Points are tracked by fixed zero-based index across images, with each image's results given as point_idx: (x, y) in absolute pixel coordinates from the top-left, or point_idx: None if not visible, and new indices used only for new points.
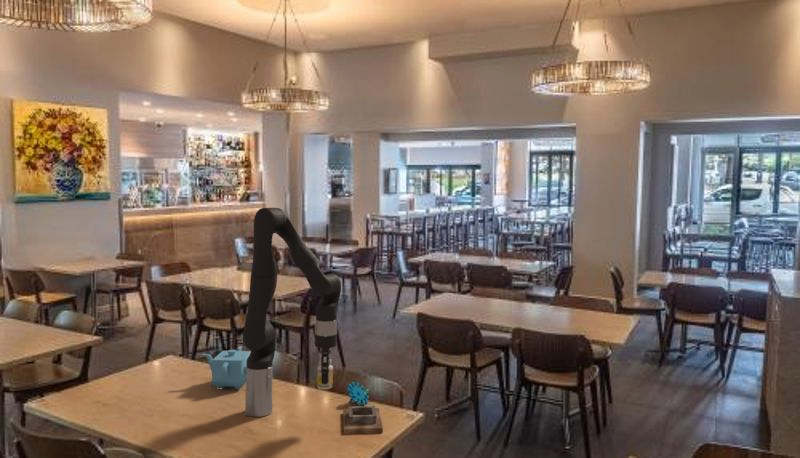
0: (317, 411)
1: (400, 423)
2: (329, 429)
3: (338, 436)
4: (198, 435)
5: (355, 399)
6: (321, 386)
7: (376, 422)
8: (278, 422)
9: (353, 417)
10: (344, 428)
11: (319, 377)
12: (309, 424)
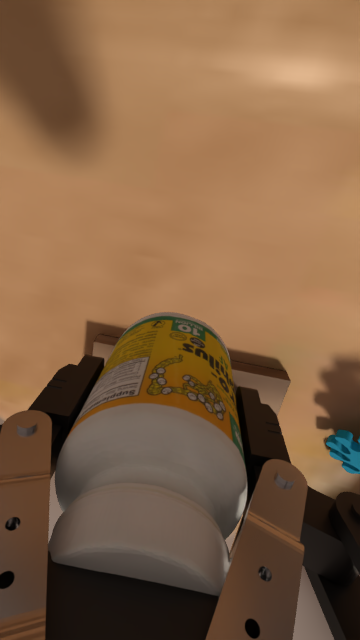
0: (351, 281)
1: None
2: (148, 293)
3: (80, 311)
4: None
5: (343, 443)
6: (118, 341)
7: None
8: (295, 66)
9: None
10: (99, 343)
11: (116, 365)
12: (220, 223)
